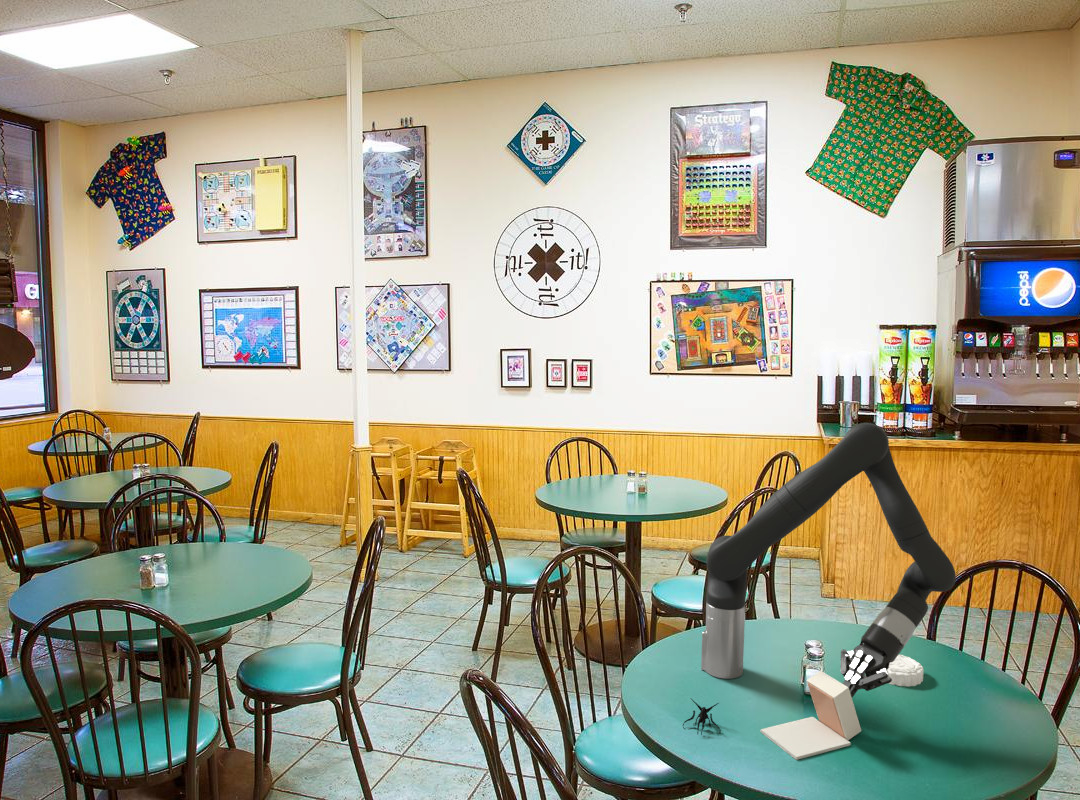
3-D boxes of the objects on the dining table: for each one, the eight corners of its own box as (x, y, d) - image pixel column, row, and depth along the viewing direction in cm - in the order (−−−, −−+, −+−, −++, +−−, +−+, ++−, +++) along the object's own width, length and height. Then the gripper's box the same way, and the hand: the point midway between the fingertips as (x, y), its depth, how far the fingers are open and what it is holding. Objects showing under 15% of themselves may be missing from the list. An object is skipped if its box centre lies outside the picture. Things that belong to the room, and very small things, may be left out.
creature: (718, 745, 160) (723, 718, 167) (718, 724, 158) (723, 698, 165) (680, 738, 163) (686, 712, 170) (680, 717, 161) (686, 692, 168)
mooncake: (860, 665, 195) (861, 651, 194) (907, 664, 195) (907, 650, 195) (883, 688, 183) (884, 673, 182) (933, 687, 183) (934, 672, 183)
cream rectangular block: (818, 722, 167) (805, 680, 164) (833, 712, 168) (820, 670, 165) (846, 741, 159) (833, 698, 157) (861, 730, 161) (848, 687, 158)
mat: (760, 732, 163) (760, 729, 163) (812, 719, 168) (812, 716, 168) (796, 759, 153) (796, 757, 153) (850, 745, 158) (850, 742, 158)
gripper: (856, 612, 171) (810, 675, 168) (905, 635, 159) (856, 703, 156) (873, 632, 174) (828, 694, 171) (922, 656, 162) (874, 723, 158)
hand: (841, 698), depth 163 cm, fingers closed
